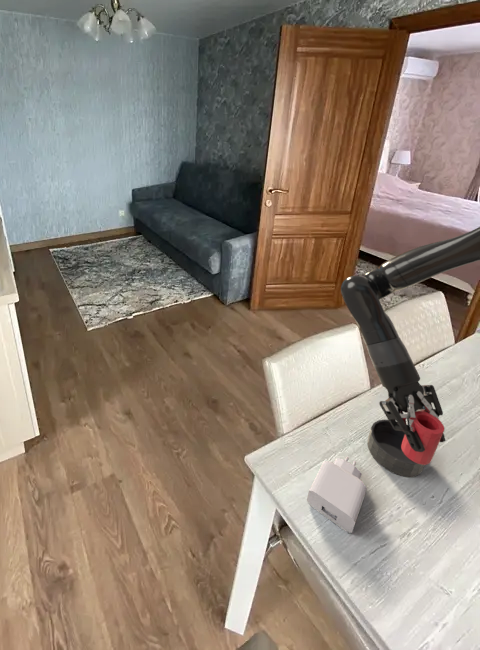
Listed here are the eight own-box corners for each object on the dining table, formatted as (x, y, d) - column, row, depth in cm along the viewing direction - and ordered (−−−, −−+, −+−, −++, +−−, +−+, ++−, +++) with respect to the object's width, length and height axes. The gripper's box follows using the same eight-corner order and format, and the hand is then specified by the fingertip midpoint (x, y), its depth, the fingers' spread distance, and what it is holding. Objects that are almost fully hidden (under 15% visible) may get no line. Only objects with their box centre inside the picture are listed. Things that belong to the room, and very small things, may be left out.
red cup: (423, 443, 75) (435, 412, 72) (436, 466, 70) (450, 435, 67) (396, 439, 76) (407, 409, 73) (407, 462, 71) (419, 431, 68)
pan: (409, 435, 90) (414, 423, 89) (433, 481, 79) (438, 468, 78) (360, 428, 92) (364, 416, 91) (377, 472, 81) (381, 459, 80)
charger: (370, 479, 80) (351, 535, 69) (329, 454, 85) (306, 502, 75) (375, 465, 78) (355, 520, 67) (333, 440, 84) (309, 488, 73)
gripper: (381, 368, 70) (422, 461, 64) (429, 351, 75) (471, 436, 69) (354, 371, 77) (390, 455, 71) (400, 355, 82) (437, 433, 76)
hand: (430, 445), depth 70 cm, fingers closed on red cup, 5 cm apart
